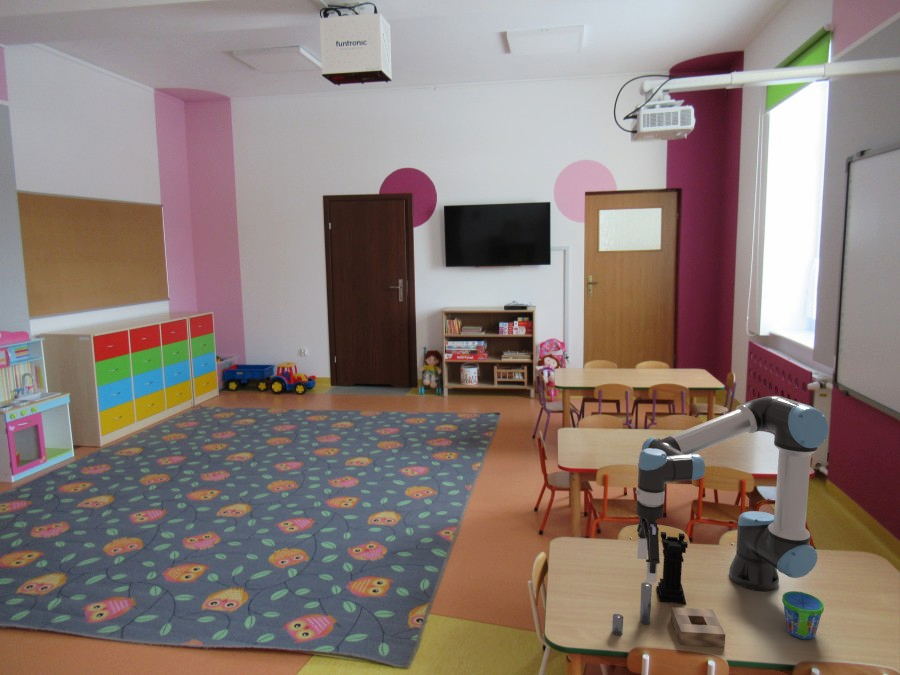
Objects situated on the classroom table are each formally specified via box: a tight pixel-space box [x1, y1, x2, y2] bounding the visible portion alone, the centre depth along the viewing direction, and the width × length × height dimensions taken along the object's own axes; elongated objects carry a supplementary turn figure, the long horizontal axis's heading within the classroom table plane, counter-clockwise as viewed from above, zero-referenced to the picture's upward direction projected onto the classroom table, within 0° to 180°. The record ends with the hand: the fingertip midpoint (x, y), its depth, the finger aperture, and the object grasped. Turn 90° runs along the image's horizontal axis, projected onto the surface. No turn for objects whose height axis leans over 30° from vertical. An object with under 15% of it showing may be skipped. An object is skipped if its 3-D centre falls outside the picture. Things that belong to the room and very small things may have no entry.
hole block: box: [670, 607, 726, 648], centre depth 185 cm, size 12×12×4 cm
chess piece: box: [656, 531, 689, 605], centre depth 202 cm, size 8×8×20 cm
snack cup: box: [781, 590, 825, 640], centre depth 184 cm, size 16×11×10 cm
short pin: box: [611, 613, 624, 637], centre depth 185 cm, size 3×3×5 cm
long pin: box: [639, 581, 653, 626], centre depth 189 cm, size 3×3×12 cm
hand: (646, 569), depth 188 cm, fingers open, 13 cm apart
